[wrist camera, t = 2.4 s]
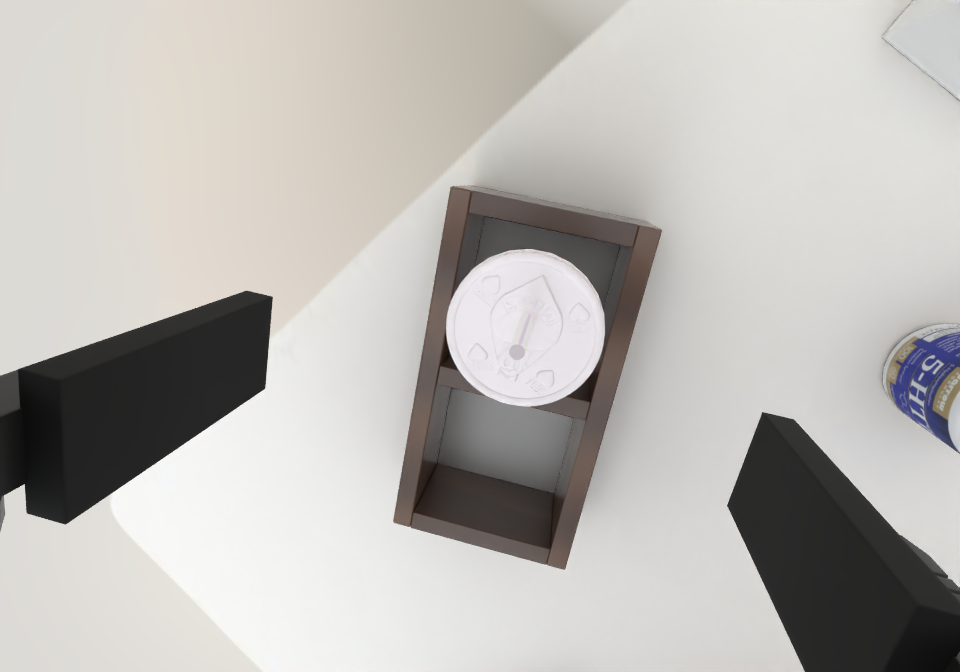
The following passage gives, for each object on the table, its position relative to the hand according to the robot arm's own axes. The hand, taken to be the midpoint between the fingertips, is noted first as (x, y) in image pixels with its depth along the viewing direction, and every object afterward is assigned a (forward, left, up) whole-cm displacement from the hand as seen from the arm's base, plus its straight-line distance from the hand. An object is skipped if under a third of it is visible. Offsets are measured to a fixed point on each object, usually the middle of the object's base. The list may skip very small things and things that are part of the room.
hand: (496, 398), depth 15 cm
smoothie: (0, 0, -17) cm, 17 cm away
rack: (-3, +3, -17) cm, 18 cm away
